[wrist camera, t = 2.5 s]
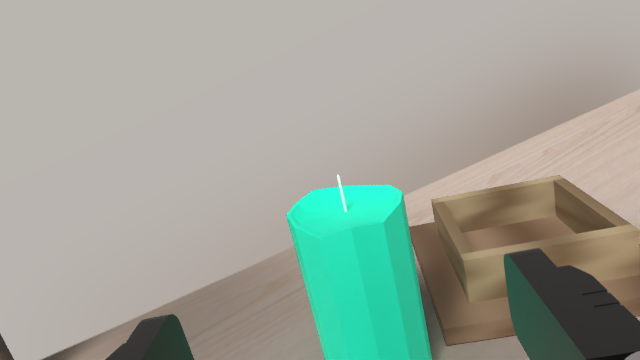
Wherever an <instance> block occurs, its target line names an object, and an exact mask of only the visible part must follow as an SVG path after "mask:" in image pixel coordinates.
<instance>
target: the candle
mask: <svg viewBox="0 0 640 360" xmlns="http://www.w3.org/2000/svg"><path fill="white" fill-rule="evenodd" d="M337 180H338V184H339V186H338V187H332V188H324V189H317V190H313V191H312V192H310V193H309V194H307V195H306V196H305V197H303V198H302V199H301V200H299V201H298V202H297V203H295V204H294V206H293V207H292V208H291V210H290V211H289V212H288V214H287V215H286V216H287V219H288V223H289V227H290V231H291V234H292V238H293V242H294V246H295V249H296V253H297V257H298V261H299V264H300V268H301V272H302V276H303V279H304V283H305V287H306V291H307V294H308V298H309V302H310V305H311V309H312V313H313V317H314V320H315V324H316V328H317V332H318V335H319V339H320V343H321V347H322V350H323V354H324V358H325V360H432V354H431V349H430V343H429V338H428V332H427V326H426V321H425V315H424V309H423V304H422V298H421V292H420V287H419V281H418V276H417V270H416V264H415V259H414V253H413V247H412V242H411V236H410V231H409V225H408V219H407V214H406V208H405V202H404V197H403V192H402V191H400V190H398V189H396V188H394V187H393V186H391V185H360V186H342V184H341V180H340V175H337Z"/></svg>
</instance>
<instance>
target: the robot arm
mask: <svg viewBox="0 0 640 360" xmlns="http://www.w3.org/2000/svg"><path fill="white" fill-rule="evenodd" d="M504 269H505V277H506V285H507V293H508V301H509V309H510V315H511V320H512V323H513V327H514V330H515V332H516V335H517V337H518V339H519V341H520V343H521V344H522V346H523V348H524V350H525V351H526V353H527V355H528V357H529V358H530V360H640V321H639V320H638V319H637V318H636V317H635V316H634V315H633V314H632V313H631V312H629V311H628V310H627V309H626V308H625V307H624V306H623V305H620V302H619V301H618V300H617V299H616V298H615V297H614V296H613V295H612V294H611V293H608V292H607V289H606V288H605V287H604V286H603V285H602V284H601V283H600V282H599V281H598V280H597V279H596V278H595V277H594V276H593V275H591V274H588V273H586V272H584V271H582V270H580V269H578V268H576V267H573V266H571V265H567V266H561V267H557V266H556V265H555V264H554V263H553V262H552V261H551V260H550V259H549V257H548V256H547V255H546V254H545V253H544V252H543V251H542V250H541V249H540V248H534V249H529V250H523V251H518V252H513V253H507V254H505V255H504ZM0 360H14V359H13V357H12V355H11V353H10V352H9V349H8V348H7V346H6V344H5V342H4V340H3V338H2V336H1V334H0ZM105 360H194V358H193V355H192V353H191V350H190V347H189V345H188V342H187V340H186V337H185V334H184V332H183V329H182V327H181V324H180V322H179V320H178V318H177V317H176V316H175V315H173V314H170V315H165V316H160V317H154V318H149V319H144V320H142V321H141V322H140V323H139V324H138V326H137V327H136V329H135V330H134V332H133V333H132V334H131V336H130V337H129V339H128V340H127V342H126V343H124V344H123V345H121V346H120V347H119V348H118V349H117V350H116V351H115V352H113V353H112V354H111V355H110V356H109V357H108V358H107V359H105Z"/></svg>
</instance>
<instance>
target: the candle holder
mask: <svg viewBox="0 0 640 360" xmlns="http://www.w3.org/2000/svg"><path fill="white" fill-rule="evenodd" d="M431 201H432V207H433V214H434V220H435V222H433V223H428V224H422V225H417V226H411V227H409V231H410V236H411V241H412V244H413V247H414V250H415V253H416V256H417V259H418V262H419V265H420V268H421V271H422V274H423V277H424V280H425V282H426V285H427V288H428V291H429V294H430V297H431V300H432V303H433V306H434V309H435V312H436V315H437V318H438V321H439V324H440V327H441V330H442V333H443V336H444V339H445V342H446V345H447V346H448V345H454V344H461V343H467V342H474V341H480V340H487V339H493V338H499V337H506V336H512V335H516V332H515V330H514V327H513V323H512V320H511V315H510V309H509V301H508V293H507V285H506V277H505V269H504V255H505V254H507V253H513V252H518V251H523V250H529V249H534V248H540V249H541V250H542V251H543V252H544V253H545V254H546V255H547V256H548V257H549V259H550V260H551V261H552V262H553V263H554V264H555V265H556V266H557V267H561V266H567V265H571V266H573V267H576V268H578V269H580V270H582V271H584V272H586V273H588V274H591V275H593V276H594V277H595V278H596V279H597V280H598V281H599V282H600V283H601V284H602V285H603V286H604V287H605V288H606V289H607V292H608V293H611V294H612V295H613V296H614V297H615V298H616V299H617V300H618V301H619V302H620V305H623V306H624V307H625V308H626V309H627V310H628V311H629V312H631V313H632V314H633V315H634V316H640V230H639V229H637V228H636V227H634V226H633V225H632V224H630V223H629V222H627V221H626V220H624V219H623V218H621V217H620V216H618V215H617V214H616V213H614V212H613V211H611V210H610V209H608V208H607V207H605V206H604V205H602V204H601V203H599V202H598V201H597V200H595V199H594V198H592V197H591V196H589V195H588V194H586V193H585V192H583V191H582V190H581V189H579V188H578V187H576V186H575V185H573V184H572V183H570V182H569V181H567V180H566V179H565V178H563V177H562V176H560V175H557V176H552V177H547V178H542V179H536V180H531V181H526V182H521V183H515V184H510V185H505V186H500V187H494V188H489V189H484V190H479V191H473V192H468V193H463V194H458V195H452V196H447V197H442V198H437V199H432V200H431Z"/></svg>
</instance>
